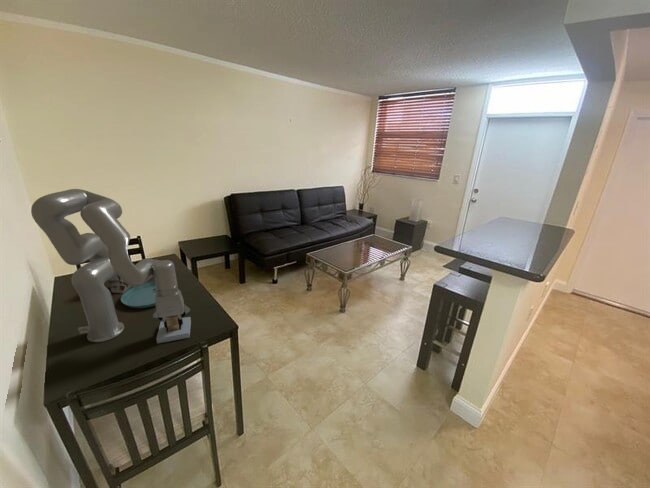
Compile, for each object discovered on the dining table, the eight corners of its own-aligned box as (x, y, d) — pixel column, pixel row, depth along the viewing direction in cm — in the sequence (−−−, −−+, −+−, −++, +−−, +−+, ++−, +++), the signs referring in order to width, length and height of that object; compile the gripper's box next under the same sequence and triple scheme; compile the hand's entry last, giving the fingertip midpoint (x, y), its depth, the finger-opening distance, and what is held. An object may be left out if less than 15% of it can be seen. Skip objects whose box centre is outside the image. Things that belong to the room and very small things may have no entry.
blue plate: (117, 296, 147) (115, 290, 146) (167, 282, 163) (166, 277, 162) (128, 317, 131) (126, 311, 130) (182, 299, 147) (181, 293, 146)
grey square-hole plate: (157, 343, 115) (156, 338, 114) (161, 326, 126) (160, 321, 125) (189, 337, 119) (188, 332, 119) (191, 321, 130) (190, 316, 129)
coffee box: (123, 293, 149) (116, 265, 144) (111, 292, 149) (104, 265, 144) (134, 284, 158) (128, 258, 152) (123, 284, 158) (116, 258, 152)
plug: (169, 335, 120) (165, 318, 117) (170, 329, 124) (167, 312, 120) (180, 333, 121) (177, 316, 118) (180, 327, 125) (178, 310, 122)
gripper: (142, 297, 109) (150, 336, 115) (189, 291, 115) (195, 328, 121) (145, 288, 115) (153, 325, 122) (190, 282, 121) (195, 318, 128)
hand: (174, 326), depth 122 cm, fingers closed on plug, 4 cm apart
